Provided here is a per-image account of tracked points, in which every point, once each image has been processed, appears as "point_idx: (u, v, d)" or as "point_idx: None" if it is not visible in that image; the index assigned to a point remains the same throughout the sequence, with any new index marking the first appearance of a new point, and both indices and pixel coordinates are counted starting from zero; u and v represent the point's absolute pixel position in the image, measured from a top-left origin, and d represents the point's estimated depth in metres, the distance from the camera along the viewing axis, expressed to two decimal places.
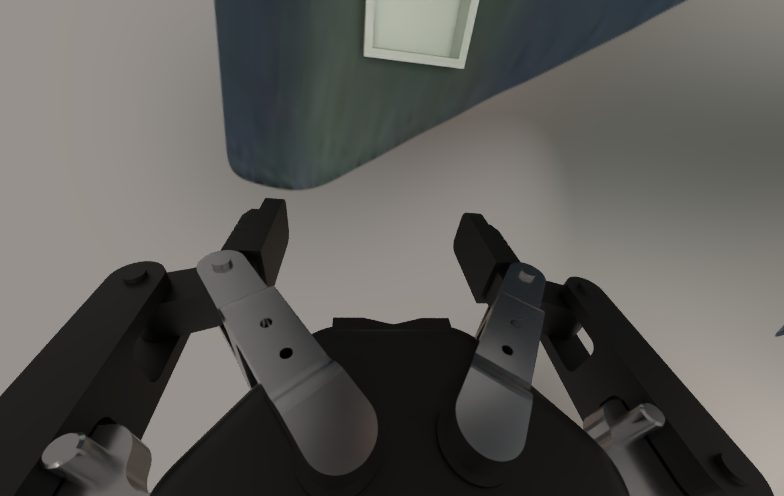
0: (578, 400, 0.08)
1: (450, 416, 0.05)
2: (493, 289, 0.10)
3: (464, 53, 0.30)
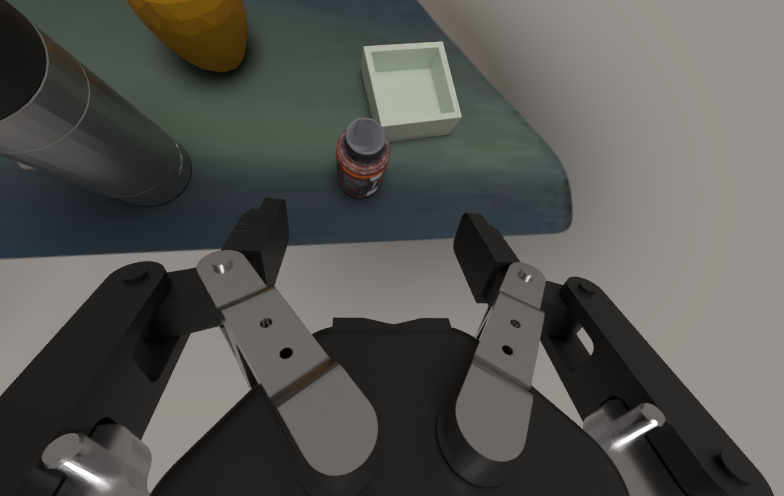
0: (578, 400, 0.08)
1: (450, 416, 0.05)
2: (493, 289, 0.10)
3: (433, 44, 0.38)
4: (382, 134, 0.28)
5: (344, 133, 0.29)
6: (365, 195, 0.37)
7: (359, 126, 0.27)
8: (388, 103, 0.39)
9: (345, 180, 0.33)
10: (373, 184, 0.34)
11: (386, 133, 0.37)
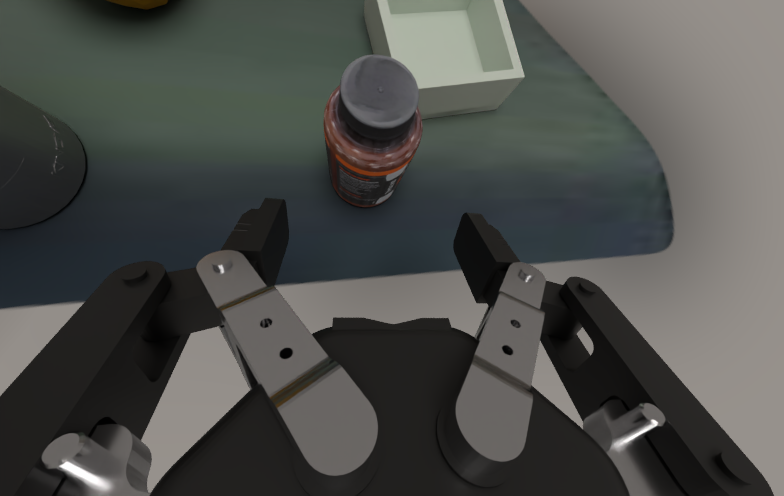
0: (578, 400, 0.08)
1: (450, 416, 0.05)
2: (493, 289, 0.10)
3: None
4: (413, 87, 0.14)
5: (338, 91, 0.16)
6: (374, 203, 0.23)
7: (367, 71, 0.14)
8: (406, 61, 0.26)
9: (341, 180, 0.19)
10: (389, 186, 0.20)
11: None
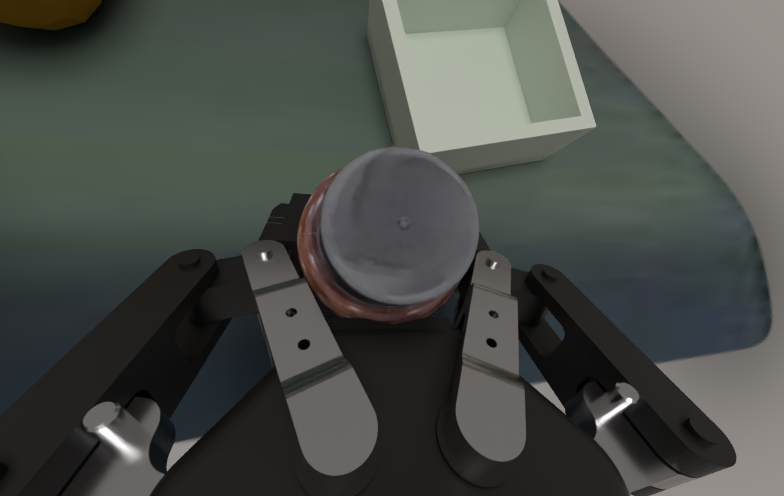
0: (555, 384, 0.09)
1: (450, 416, 0.05)
2: (463, 277, 0.11)
3: None
4: (468, 213, 0.07)
5: (322, 196, 0.09)
6: None
7: (377, 185, 0.07)
8: (425, 98, 0.19)
9: None
10: None
11: None
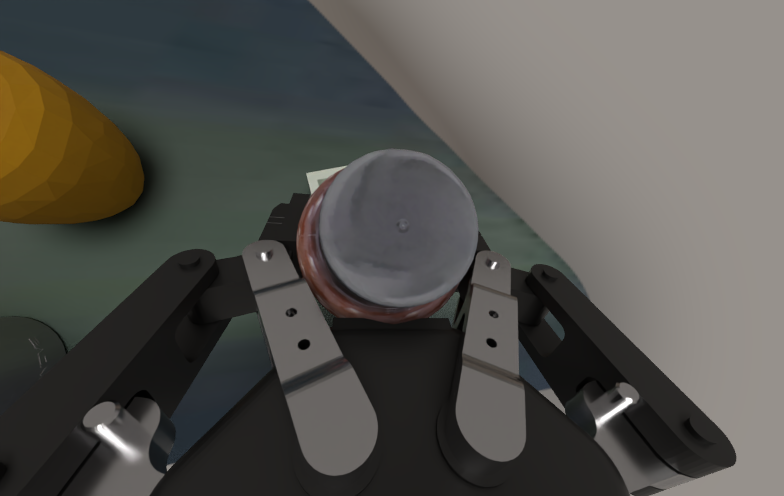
0: (555, 384, 0.09)
1: (450, 416, 0.05)
2: (463, 277, 0.11)
3: None
4: (467, 215, 0.07)
5: (321, 198, 0.09)
6: None
7: (376, 187, 0.07)
8: None
9: None
10: None
11: None
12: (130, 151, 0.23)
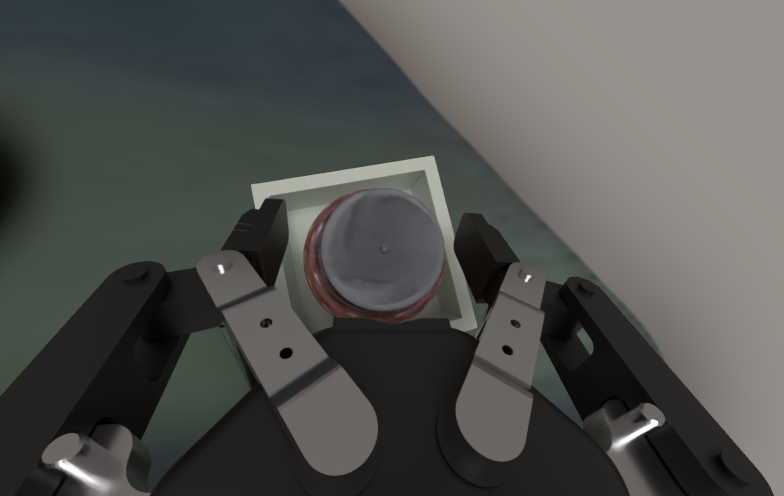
0: (578, 400, 0.08)
1: (450, 416, 0.05)
2: (493, 289, 0.10)
3: (414, 163, 0.17)
4: (435, 237, 0.09)
5: (321, 225, 0.11)
6: None
7: (363, 220, 0.09)
8: None
9: None
10: None
11: None
12: None
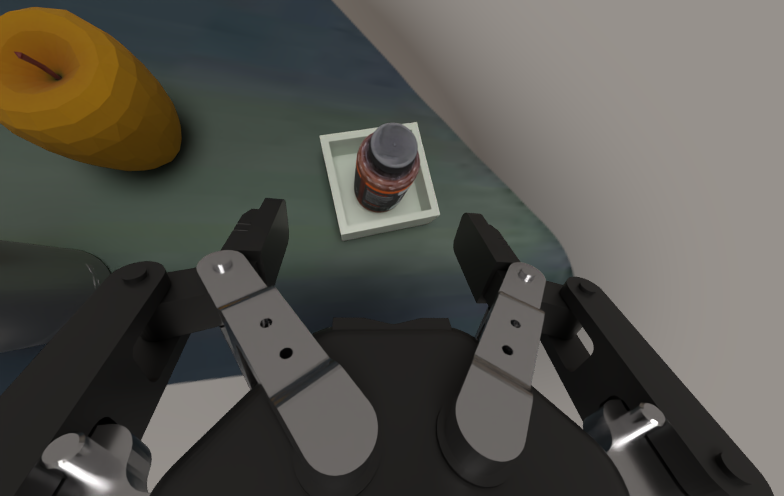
0: (578, 400, 0.08)
1: (450, 416, 0.05)
2: (493, 289, 0.10)
3: None
4: (413, 141, 0.23)
5: (365, 143, 0.25)
6: (387, 209, 0.32)
7: (386, 134, 0.23)
8: None
9: (367, 196, 0.28)
10: (399, 198, 0.29)
11: (349, 236, 0.31)
12: (174, 111, 0.28)
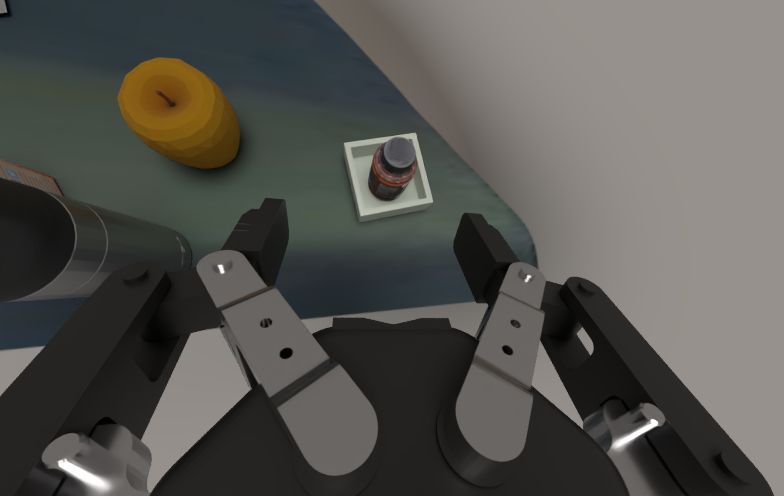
0: (578, 400, 0.08)
1: (450, 416, 0.05)
2: (493, 289, 0.10)
3: (407, 135, 0.42)
4: (413, 149, 0.34)
5: (379, 150, 0.35)
6: (393, 198, 0.43)
7: (394, 144, 0.33)
8: None
9: (379, 188, 0.39)
10: (402, 189, 0.40)
11: (365, 217, 0.41)
12: (238, 125, 0.38)
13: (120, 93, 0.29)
